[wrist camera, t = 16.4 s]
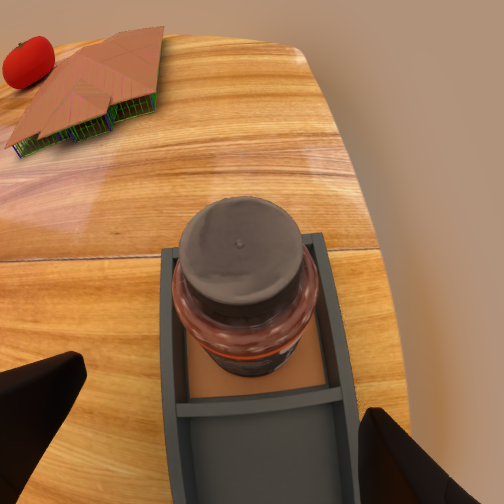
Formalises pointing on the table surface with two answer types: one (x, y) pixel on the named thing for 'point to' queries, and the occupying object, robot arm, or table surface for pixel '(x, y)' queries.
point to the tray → (261, 411)
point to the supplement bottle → (245, 284)
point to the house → (93, 86)
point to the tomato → (28, 62)
